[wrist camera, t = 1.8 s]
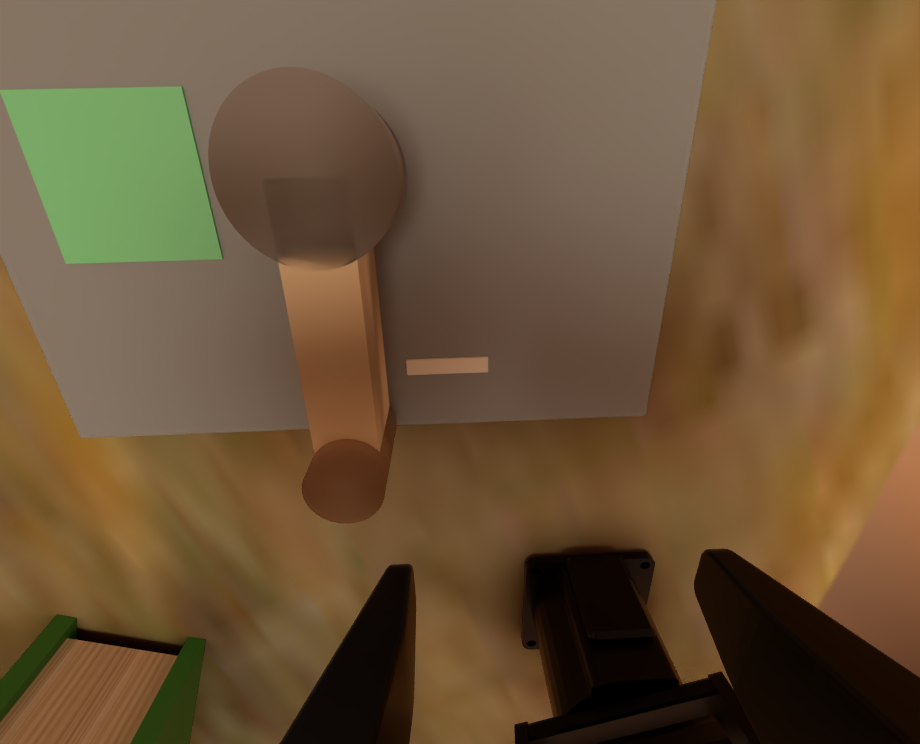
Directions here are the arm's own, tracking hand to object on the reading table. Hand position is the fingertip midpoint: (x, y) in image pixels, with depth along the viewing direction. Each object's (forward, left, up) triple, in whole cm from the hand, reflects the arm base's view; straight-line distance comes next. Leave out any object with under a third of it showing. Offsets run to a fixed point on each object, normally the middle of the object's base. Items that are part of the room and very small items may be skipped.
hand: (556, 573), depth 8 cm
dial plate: (+6, +5, -11) cm, 14 cm away
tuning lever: (+3, +5, -9) cm, 11 cm away
